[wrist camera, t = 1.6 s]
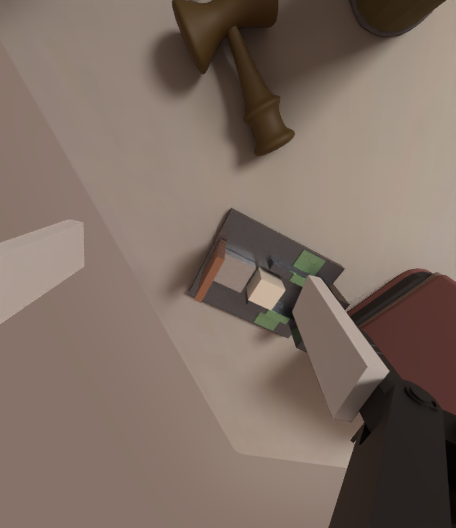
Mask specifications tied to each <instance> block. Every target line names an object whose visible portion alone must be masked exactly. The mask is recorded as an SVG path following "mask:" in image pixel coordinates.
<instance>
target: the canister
mask: <svg viewBox="0 0 456 528" xmlns="http://www.w3.org/2000/svg"><path fill="white" fill-rule="evenodd" d="M444 1H446V0H350V2H351V5H352V8H353V11H354V14H355V16H356V18H357V20H358V21H359V23H360V25H361V26H363V27H364V28H365V29H366V30H368V31H369V32H371V33H374V34H377V35H379V36H382V37H386V36H396V35H400V34H402V33H405V32H407V31H409V30H411V29H412V28H414V27H416V26H417V25H418V24H420V23H421V22H422V21H423V20H424V19H425V18H426V17H427V16H428V15H429V14H431V13H432V11H433V10H434V9H435V8H437V7H438V6H439V5H441V4H442V3H443V2H444Z"/></svg>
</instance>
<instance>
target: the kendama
mask: <svg viewBox="0 0 456 528" xmlns="http://www.w3.org/2000/svg"><path fill="white" fill-rule="evenodd" d="M172 7H173V11H174V15H175V19H176V21H177V24H178V27H179V29H180V32H181V34H182V37H183V39H184V41H185V44H186V46H187V48H188V51H189V53H190V55H191V57H192V59H193V61H194V63H195V65H196V67H197V68H198V70H199V71H200V73H202V74H205V73H206V71H207V69H208V67H209V65H210V62H211V60H212V57H213V55H214V53H215V51H216V49H217V47H218V45H219V44H220V42H221V41H222V40H223V39H224V38H226V37H228V41H229V44H230V47H231V50H232V54H233V57H234V60H235V64H236V68H237V71H238V75H239V79H240V82H241V86H242V91H243V95H244V100H245V114H244V117H243V120H244V121H245V122H247V123H248V124H250V126H251V128H252V130H253V133H254V136H255V141H256V146H255V150H254V153H255V155H256V156H263V155H265V154H268V153H270V152H272V151H275V150H277V149H278V148H280V147H282V146H283V145H285V144H286V143H288V142H289V141H290V140H291V139H292V138H293V137H294V135H295V133H294V131H293V130H291V129H288V128H287V127H286V126H285V125H284V123H283V121H282V119H281V116H280V113H279V103H280V96H277V95H274V94H272V93H271V92H270V91H269V89H268V88H267V86H266V85H265V83H264V81H263V79H262V78H261V76H260V74H259V72H258V70H257V68H256V66H255V64H254V62H253V60H252V58H251V56H250V54H249V51H248V49H247V47H246V45H245V43H244V40H243V38H242V36H241V34H240V31H239V29H240V28H243V27H247V26H254V27H264V28H269V27H272V26H273V25H274V24H275V22H276V20H277V15H278V0H212V1H211V2H208V3H203V4H202V3H195V2H190V1H186V0H173V1H172Z"/></svg>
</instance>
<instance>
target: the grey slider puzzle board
mask: <svg viewBox="0 0 456 528" xmlns="http://www.w3.org/2000/svg"><path fill="white" fill-rule="evenodd" d="M220 239H222V240H224V241H226V242H227V243H226V249H227V250H230V251H232V252H234V253H236V254H238V255H240V256H242V257H244V258H246V259H248V260H250V261H252V262H254V263H255V266H256V269H255V271H254V272H253V274H252V275H251V277H250V279H249V280H248V282H247V283H246V285H245V287H244V288H243V290H242V291H241V293H240V292H237V291H235V290H233V289H231V288H229V287H226V286H224V285H222V284H220V283H218V282H216V281H213V282H212V284H211V286H210V287H209V289H208V291H207V293H206V295H205V296H204V298H203V300H202V301H204V302H206V303H209V304H211V305H213V306H215V307H218V308H220V309H222V310H224V311H227V312H229V313H231V314H234V315H236V316H238V317H240V318H243V319H245V320H247V321H250V322H252V323H254V324H256V325H259V326H261V327H263V328H266V329H268V330H270V331H272V332H275V333H277V334H279V335H281V336H284V337H286V338H289V337H290V336H291V334H292V336H293V339H294V342H295V345H296V348H298V349H300V350H302V351H304V352H307V350H306V347H305V345H304V342H303V339H302V337H301V334H300V331H299V329H298V326H297V324H296V321H295V318H294V316H293V313H292V311H293V309H294V307H295V304H296V302H297V300H298V297H299V295H300V293H301V290H302V288H303V286H304V283H305V281H306V279H307V277H308V275H311V276H315V277H320V278H321V279H322V280H323V282H324V283H325V285H326V286H327V287H328V289H329V290H330V291H331V293H332V294H333V295H334V297H335V298H336V299H337V301H338V302H339V303H340V305H341V306H342V308H343V309H344V310H346V308H347V307H348V306H349V305H350V304H349V303H348V302H347V301H346V299H345V298H344V297H343V296H342V295H341V293H340V292H339V291H338V290H337V288H336V287H335V286H334V285H333V283H334V281H335V280H336V279H337V278H338V276H339V275H340V274H341V273H342V272H343V270H344V268H343V267H342V266H341V265H339V264H338V263H336V262H334V261H332V260H330V259H328V258H326V257H324V256H322V255H320V254H318V253H317V252H315V251H313V250H311V249H309V248H307V247H305V246H303V245H301V244H299V243H297V242H295V241H294V240H292V239H290V238H288V237H286V236H284V235H282V234H280V233H278V232H276V231H274V230H273V229H271V228H269V227H267V226H265V225H263V224H261V223H259V222H257V221H255V220H253V219H252V218H250V217H248V216H246V215H244V214H242V213H240V212H238V211H236V210H234V209H232V208H231V210H230V212H229V214H228V216H227V218H226V220H225V222H224V224H223V226H222V228H221V230H220V232H219V234H218V236H217V238H216V240H215V242H214V244H213V246H212V248H211V250H210V251H209V253H208V255H207V257H206V259H205V261H204V263H203V265H202V267H201V269H200V271H199V273H198V275H197V277H196V279H195V281H194V283H193V285H192V287H191V289H190V291H189V293H188V295H190V296H193V297H195V295H196V292H197V289H198V285H199V282H200V279H201V275H202V274H203V272H204V270H205V268H206V266H207V264H208V262H209V260H210V258H211V256H212V254H213V252H214V250H215V249H216V247H217V245H218V243H219V241H220ZM259 267H260V268H262V269H264V270H266V271H268V272H270V273H272V274H274V275H276V276H278V277H280V278H281V280H282V283H283V285H284V288H285V292H284V293H283V295H282V296H281V297H280V299H279V300H278V302H277V303H276V304H275V306H274V307H273V309H272V310H269V309H267V308H264V307H262V306H260V305H258V304H256V303H254V302H251V301H249V300H248V295H247V285H248V284H249V282H250V281H251V279H252V277H253V276H254V274H255V273H256V271H257V269H258V268H259Z"/></svg>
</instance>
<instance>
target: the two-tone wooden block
mask: <svg viewBox="0 0 456 528" xmlns="http://www.w3.org/2000/svg"><path fill="white" fill-rule="evenodd" d="M226 243H227V242H226V241H224V240H222V239H220V241H219V243H218V245H217V247H216V249H215V250H214V252H213V254H212V256H211V258H210V260H209V262H208V264H207V266H206V268H205V270H204V272H203V274H202V275H201V279H200V282H199V285H198V289H197V292H196V295H195V299H194V300H196V301H199V302H202V300H203V298H204V296H205V295H206V293H207V291H208V289H209V287H210V286H211V284H212V282H213V281H216V282H218V283H220V284H222V285H224V286H226V287H229V288H231V289H233V290H235V291H237V292H240V293H241V291H242V290H243V288H244V287H245V285H246V283H247V282H248V280H249V279H250V277H251V275H252V274H253V272H254V271H255V269H256V266H255V263H254V262H252V261H250V260H248V259H246V258H244V257H242V256H240V255H238V254H236V253H234V252H232V251H230V250H227V249H226Z"/></svg>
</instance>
